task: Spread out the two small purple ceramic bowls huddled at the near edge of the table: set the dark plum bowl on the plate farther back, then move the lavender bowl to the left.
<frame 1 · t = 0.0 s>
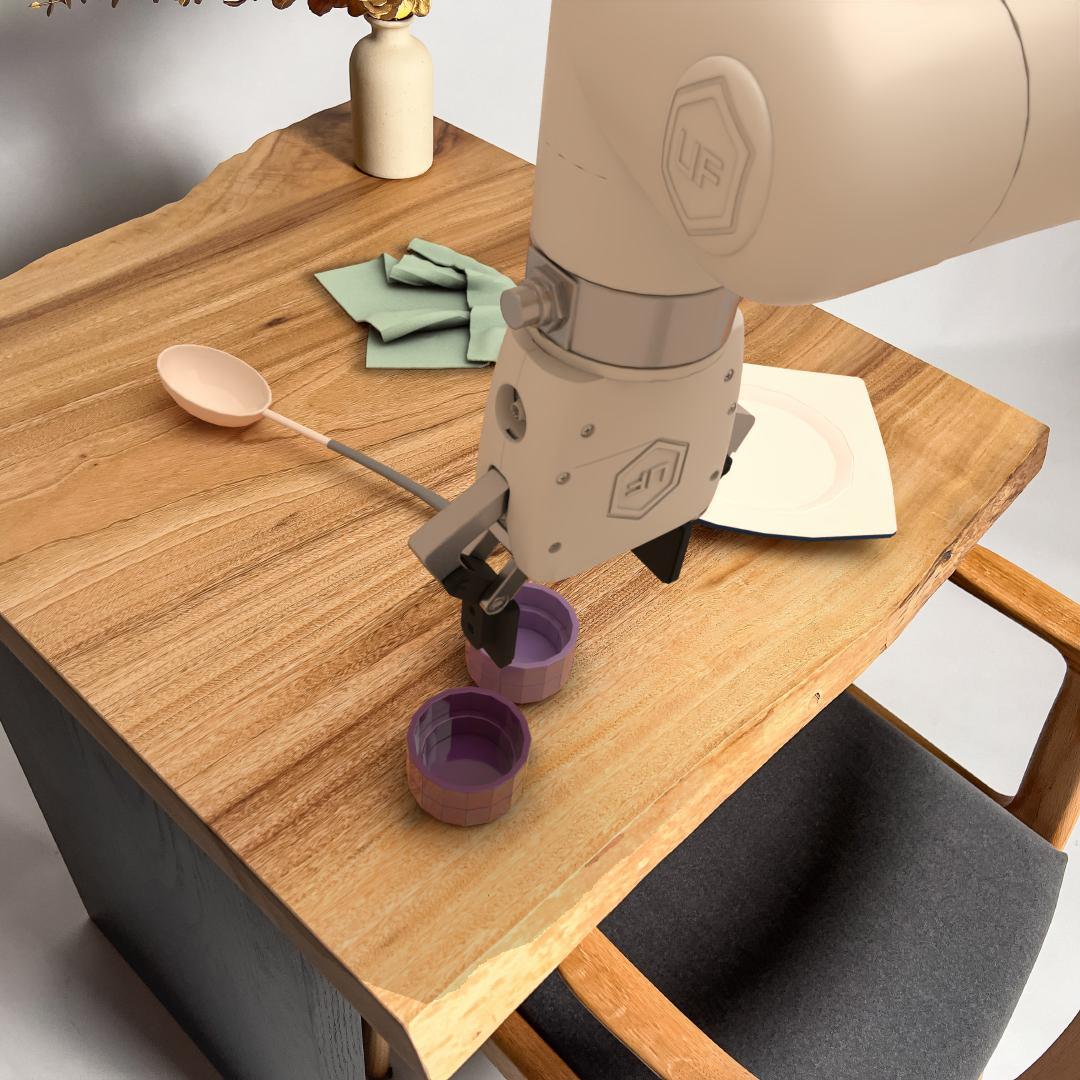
hand: (573, 602, 47), 14 cm above the table, tool pointing down, fingers open, 9 cm apart
plate: (749, 461, 78), on the table
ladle: (320, 462, 73), on the table
lavender bowl: (518, 663, 62), on the table
plum bowl: (466, 776, 56), on the table
cloth: (432, 306, 89), on the table
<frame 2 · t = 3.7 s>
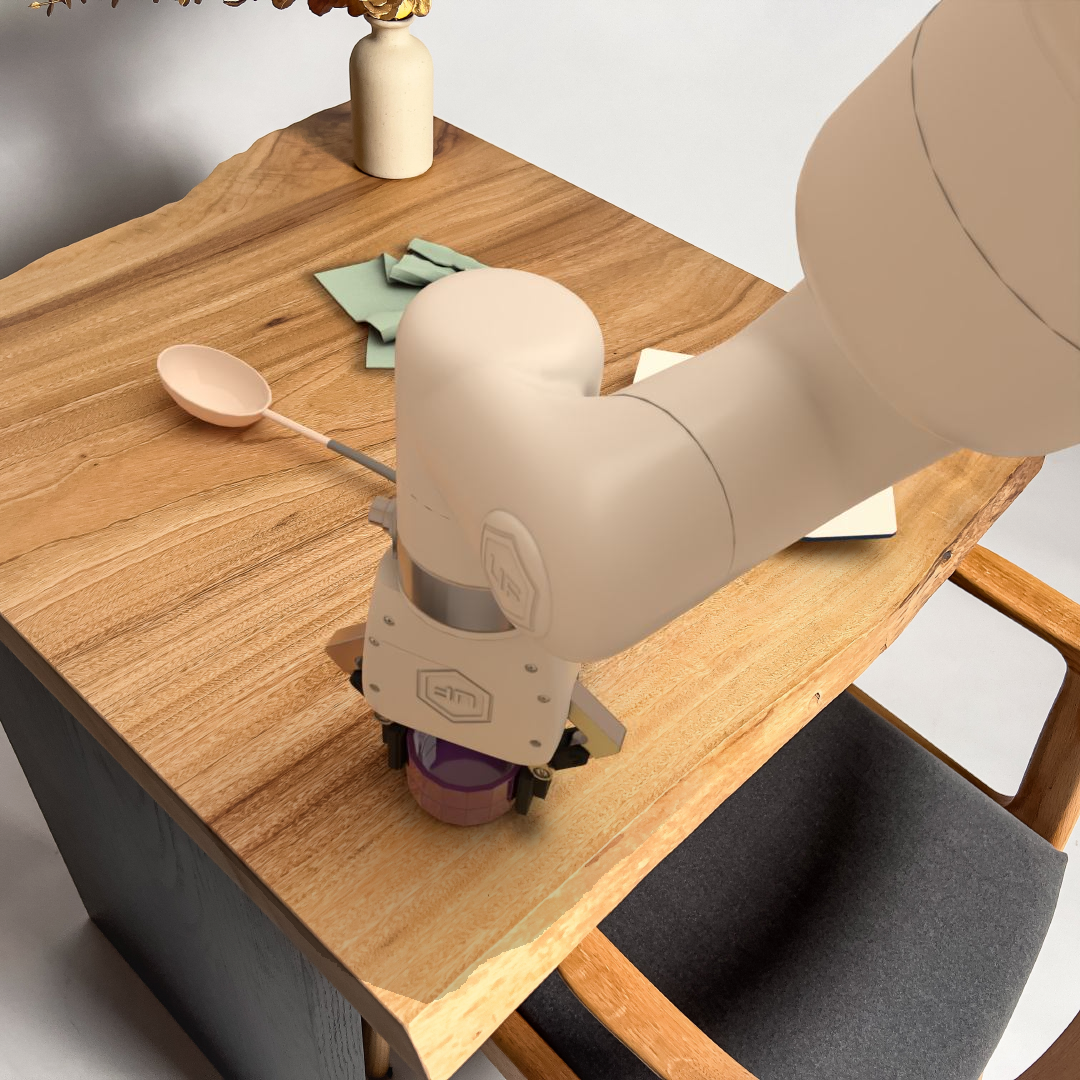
hand: (466, 769, 56), 1 cm above the table, tool pointing down, fingers closed on plum bowl, 6 cm apart
plum bowl: (466, 776, 56), on the table, touching gripper
everything else where it was.
when the fingers open (3 cm above the table, at t = 11.1 s): plum bowl stays where it is, resting on plate.
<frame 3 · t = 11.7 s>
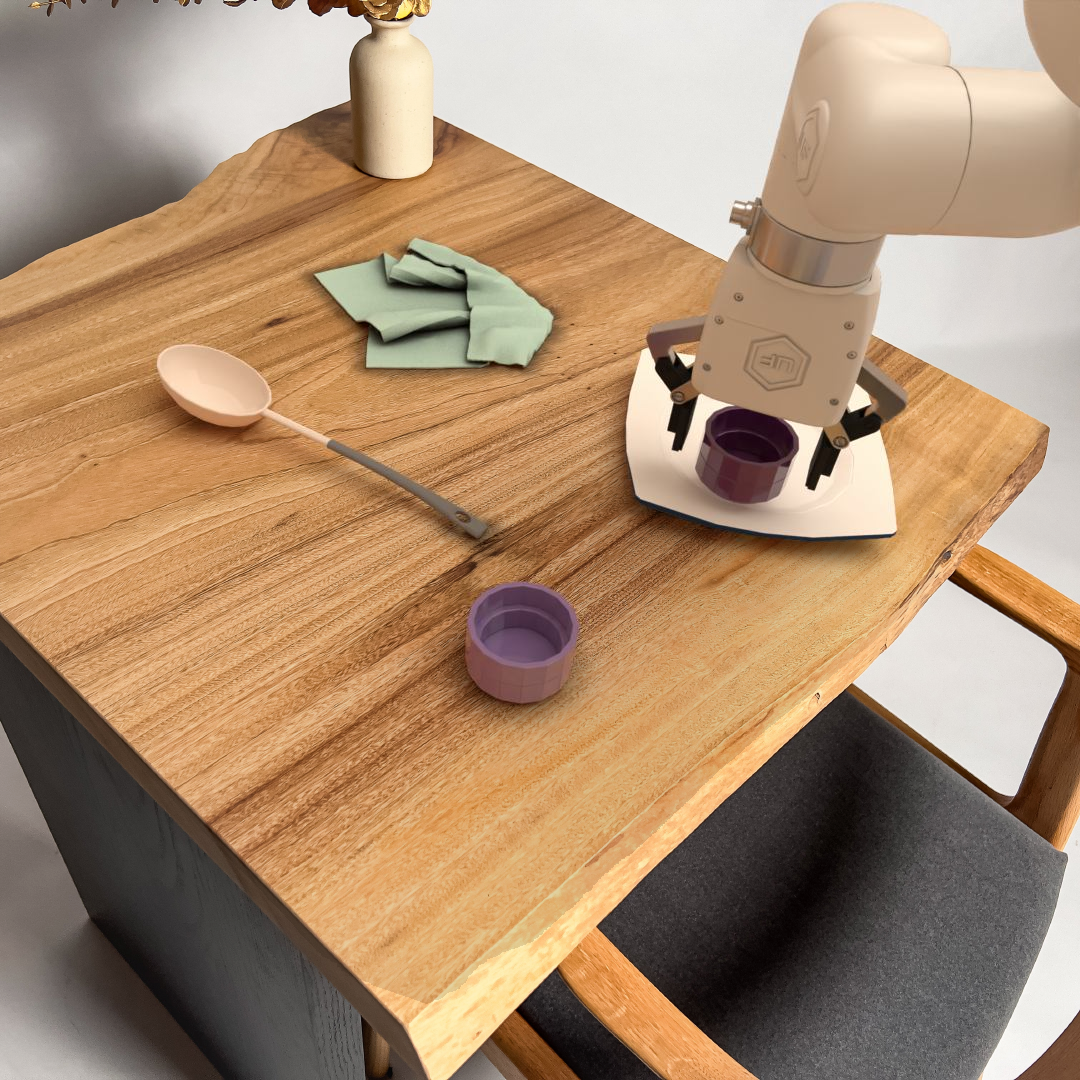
hand: (745, 458, 71), 5 cm above the table, tool pointing down, fingers open, 9 cm apart
plate: (750, 461, 78), on the table, touching plum bowl
plum bowl: (738, 477, 72), point 3 cm above the table, touching plate
everything else where it was.
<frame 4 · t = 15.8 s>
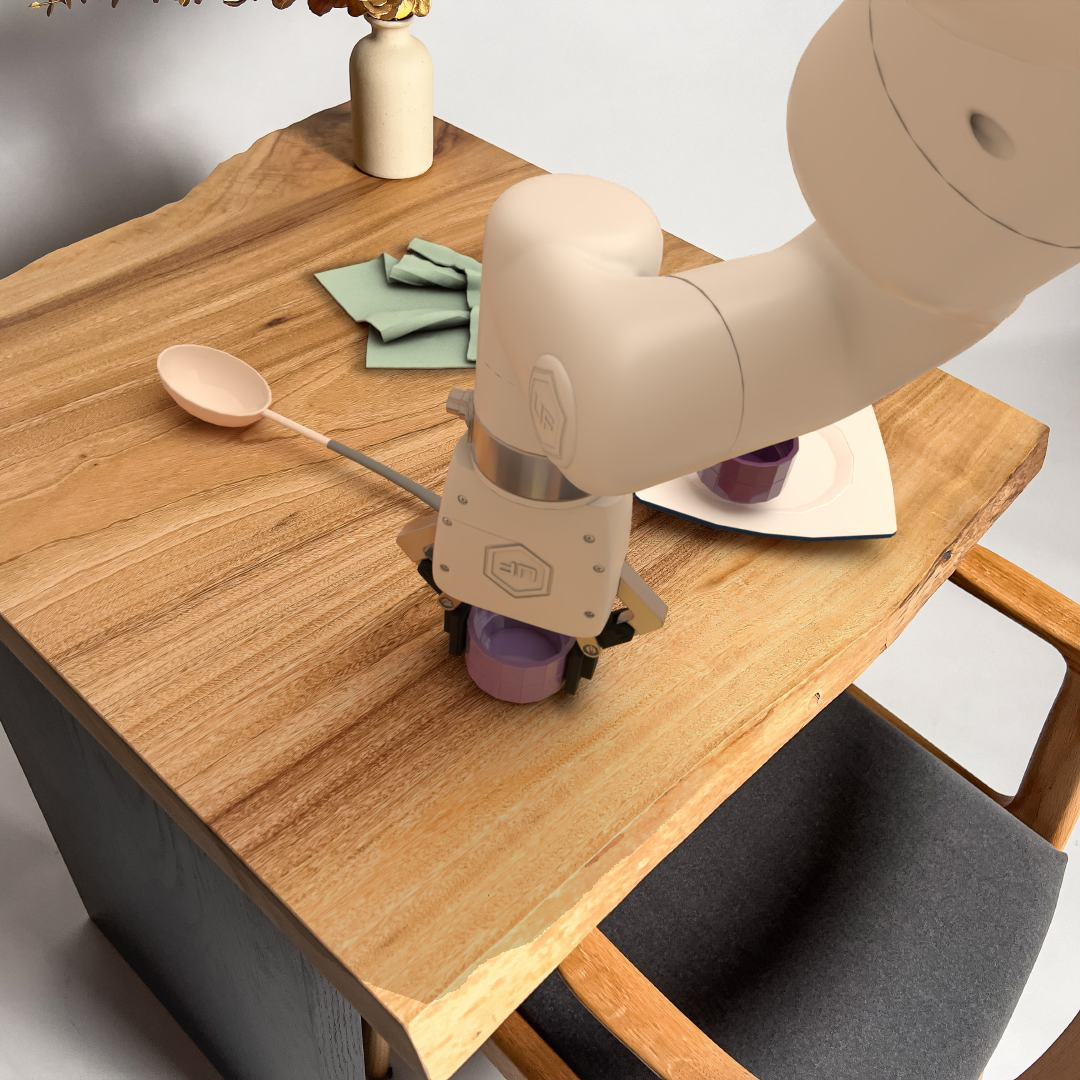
hand: (519, 656, 61), 1 cm above the table, tool pointing down, fingers closed on lavender bowl, 6 cm apart
lavender bowl: (518, 663, 62), on the table, touching gripper
everything else where it was.
when the fingers open (1 cm above the table, at t = 22.2 s): lavender bowl stays where it is, on the table.
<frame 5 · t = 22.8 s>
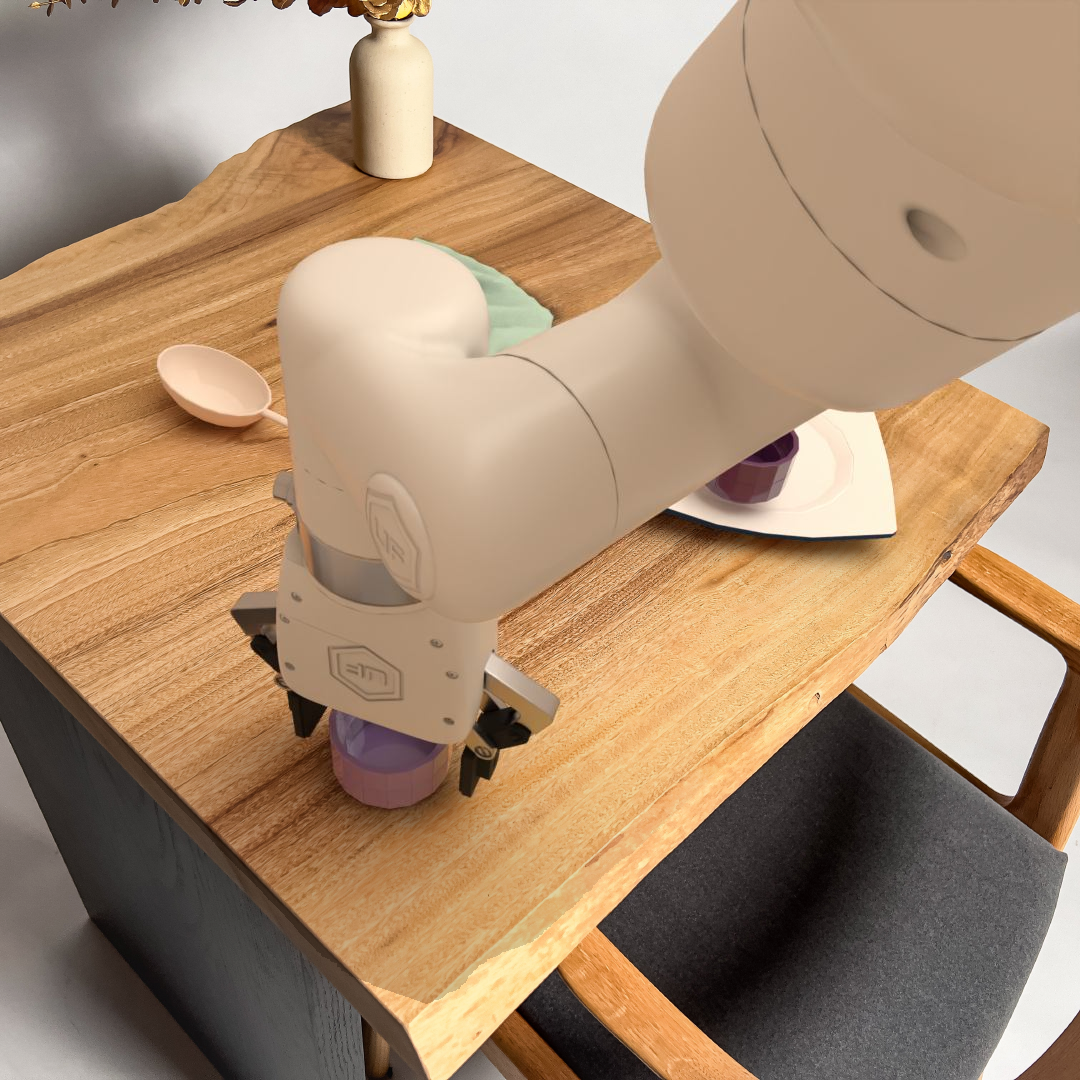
hand: (393, 745, 55), 2 cm above the table, tool pointing down, fingers open, 9 cm apart
lavender bowl: (392, 760, 56), on the table
everything else where it was.
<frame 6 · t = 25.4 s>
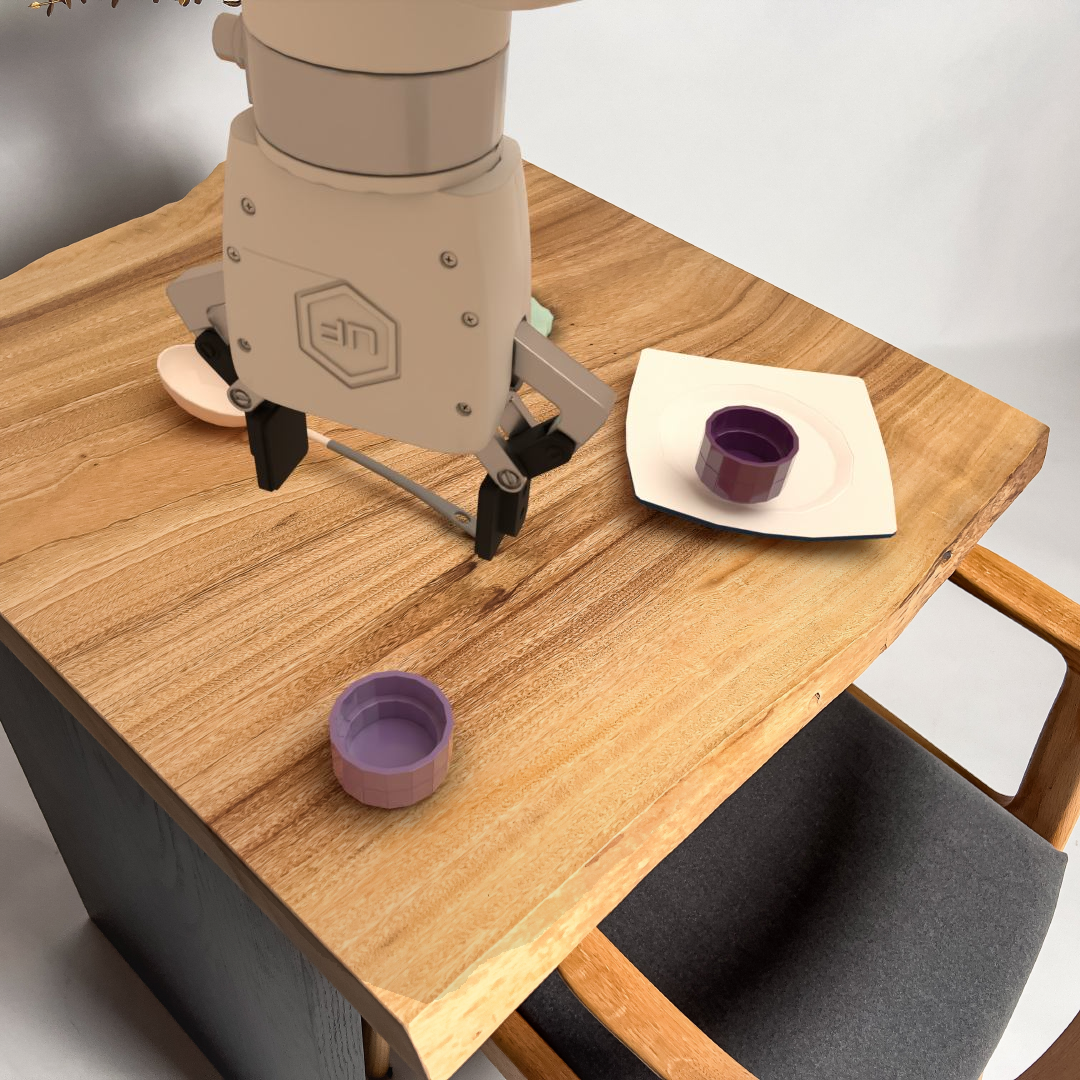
hand: (388, 503, 42), 20 cm above the table, tool pointing down, fingers open, 9 cm apart
nothing on the table moved.
at the end: plum bowl inside the target area on the plate (5.8 cm from its centre), point 2.9 cm above the plate's base; lavender bowl inside the target area (0.1 cm from its centre), on the table; lavender bowl tilted 0° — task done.
